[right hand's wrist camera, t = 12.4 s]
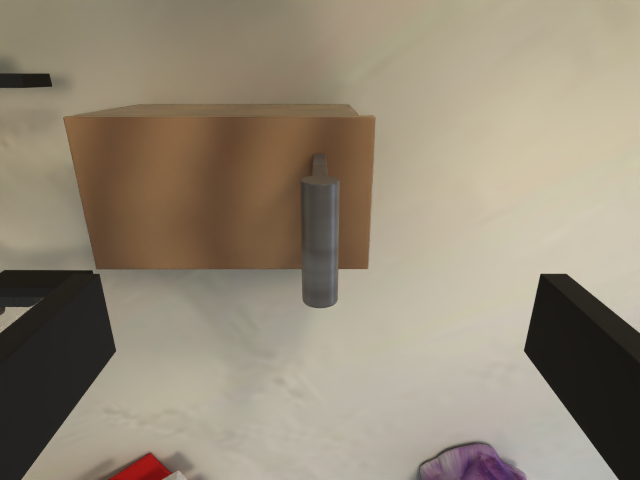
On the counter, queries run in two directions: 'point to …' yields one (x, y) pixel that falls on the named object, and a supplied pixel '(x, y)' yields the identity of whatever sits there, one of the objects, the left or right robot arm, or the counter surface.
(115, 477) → the toy
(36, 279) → the left robot arm
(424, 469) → the figurine
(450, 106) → the counter surface
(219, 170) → the door
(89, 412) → the counter surface
